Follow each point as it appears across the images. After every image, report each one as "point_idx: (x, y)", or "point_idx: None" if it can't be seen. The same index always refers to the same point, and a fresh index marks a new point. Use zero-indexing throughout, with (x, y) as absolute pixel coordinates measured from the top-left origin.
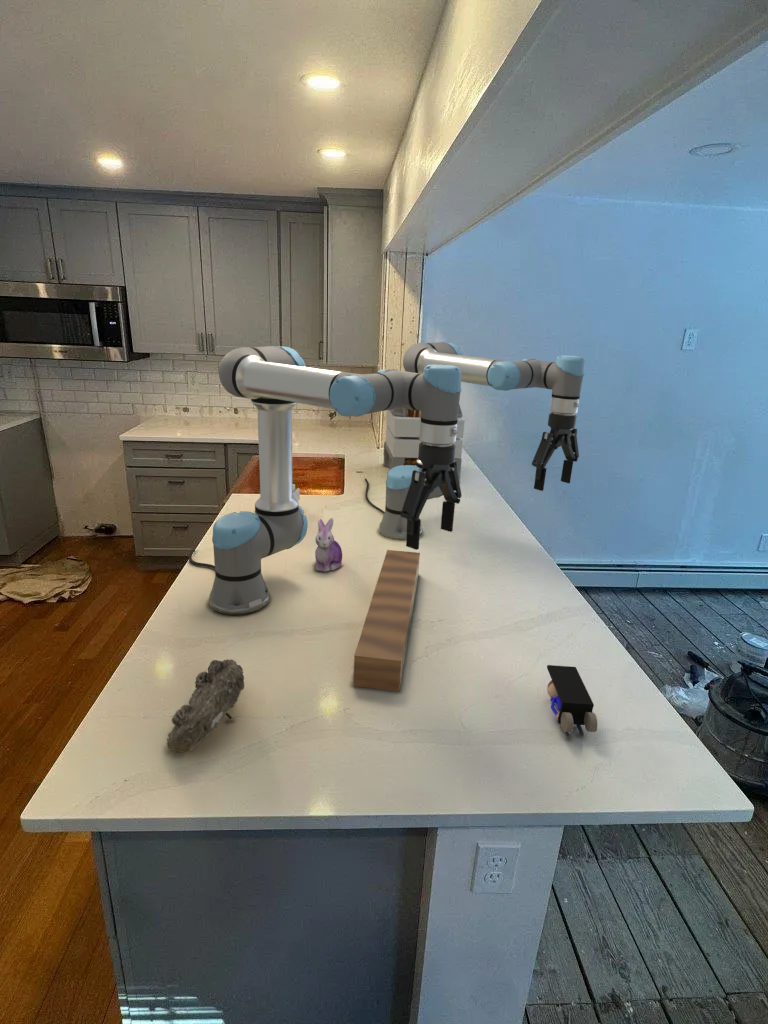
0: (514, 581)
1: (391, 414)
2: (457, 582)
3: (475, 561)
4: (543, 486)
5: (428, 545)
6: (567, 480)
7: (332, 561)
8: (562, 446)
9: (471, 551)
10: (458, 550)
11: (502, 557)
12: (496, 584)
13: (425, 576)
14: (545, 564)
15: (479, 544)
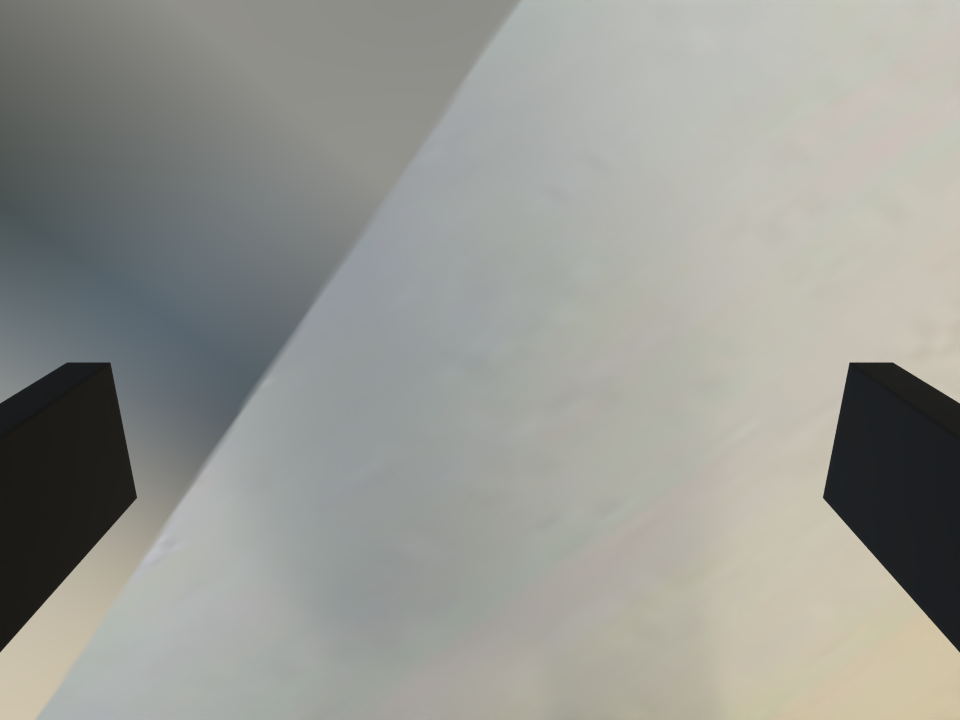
0: (679, 226)
1: None
2: None
3: (634, 478)
4: (903, 390)
5: (660, 691)
6: (93, 404)
7: None
8: None
9: (554, 556)
10: (595, 594)
11: (485, 435)
12: (780, 260)
13: None
14: (362, 254)
15: (454, 585)
